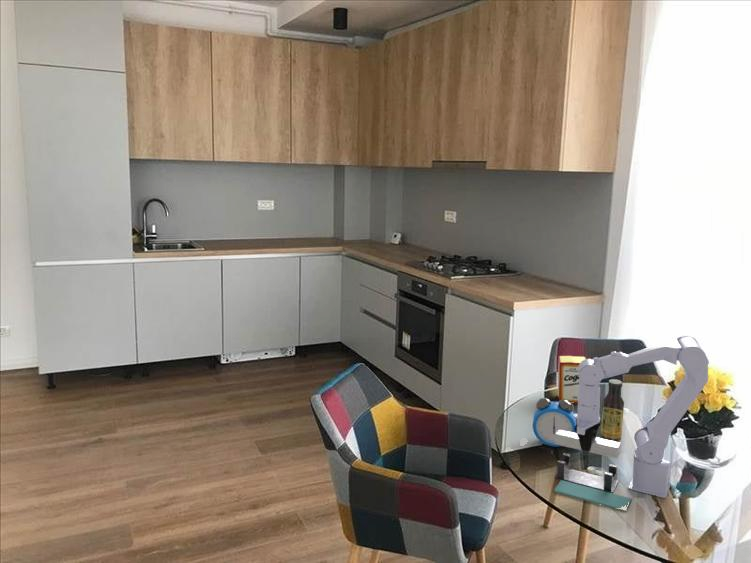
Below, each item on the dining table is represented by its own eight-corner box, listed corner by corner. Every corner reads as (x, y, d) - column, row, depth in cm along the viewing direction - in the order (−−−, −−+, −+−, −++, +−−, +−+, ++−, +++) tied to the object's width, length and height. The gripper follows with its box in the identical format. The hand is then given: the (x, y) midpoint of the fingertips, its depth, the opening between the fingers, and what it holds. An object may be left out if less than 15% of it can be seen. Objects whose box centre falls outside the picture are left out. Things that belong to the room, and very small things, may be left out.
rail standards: (618, 482, 176) (619, 465, 175) (612, 493, 171) (613, 476, 170) (562, 468, 185) (562, 452, 184) (555, 478, 180) (555, 461, 178)
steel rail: (619, 453, 172) (620, 442, 171) (617, 458, 170) (617, 447, 169) (558, 439, 182) (558, 429, 181) (555, 444, 179) (555, 433, 178)
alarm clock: (532, 445, 199) (532, 401, 195) (533, 436, 205) (533, 394, 201) (575, 449, 195) (576, 405, 191) (575, 440, 201) (576, 397, 197)
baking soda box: (584, 396, 233) (585, 355, 229) (586, 403, 226) (587, 362, 223) (557, 395, 235) (558, 355, 231) (558, 402, 228) (559, 361, 225)
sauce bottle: (599, 441, 199) (601, 383, 194) (602, 433, 204) (604, 376, 200) (621, 445, 196) (623, 386, 191) (623, 436, 201) (626, 379, 197)
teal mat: (631, 500, 167) (631, 498, 167) (626, 512, 163) (626, 509, 162) (561, 481, 178) (561, 479, 178) (554, 492, 173) (554, 490, 173)
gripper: (581, 390, 180) (580, 433, 183) (566, 409, 169) (565, 455, 172) (607, 395, 176) (605, 439, 180) (592, 415, 165) (591, 461, 168)
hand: (587, 447), depth 175 cm, fingers closed on steel rail, 3 cm apart
